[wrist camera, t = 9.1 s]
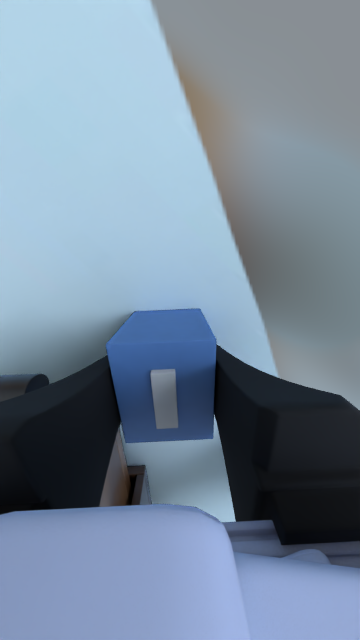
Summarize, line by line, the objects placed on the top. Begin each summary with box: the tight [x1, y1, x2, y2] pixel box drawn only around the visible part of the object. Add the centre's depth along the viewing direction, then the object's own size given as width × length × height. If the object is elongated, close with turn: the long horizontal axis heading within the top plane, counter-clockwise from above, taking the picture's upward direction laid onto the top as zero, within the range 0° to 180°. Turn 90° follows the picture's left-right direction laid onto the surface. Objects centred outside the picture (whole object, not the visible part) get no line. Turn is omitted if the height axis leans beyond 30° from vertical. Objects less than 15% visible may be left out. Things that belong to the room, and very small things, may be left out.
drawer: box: [0, 374, 133, 507], centre depth 11 cm, size 17×11×6 cm, turn 2°
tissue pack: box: [106, 309, 216, 443], centre depth 9 cm, size 4×6×5 cm
